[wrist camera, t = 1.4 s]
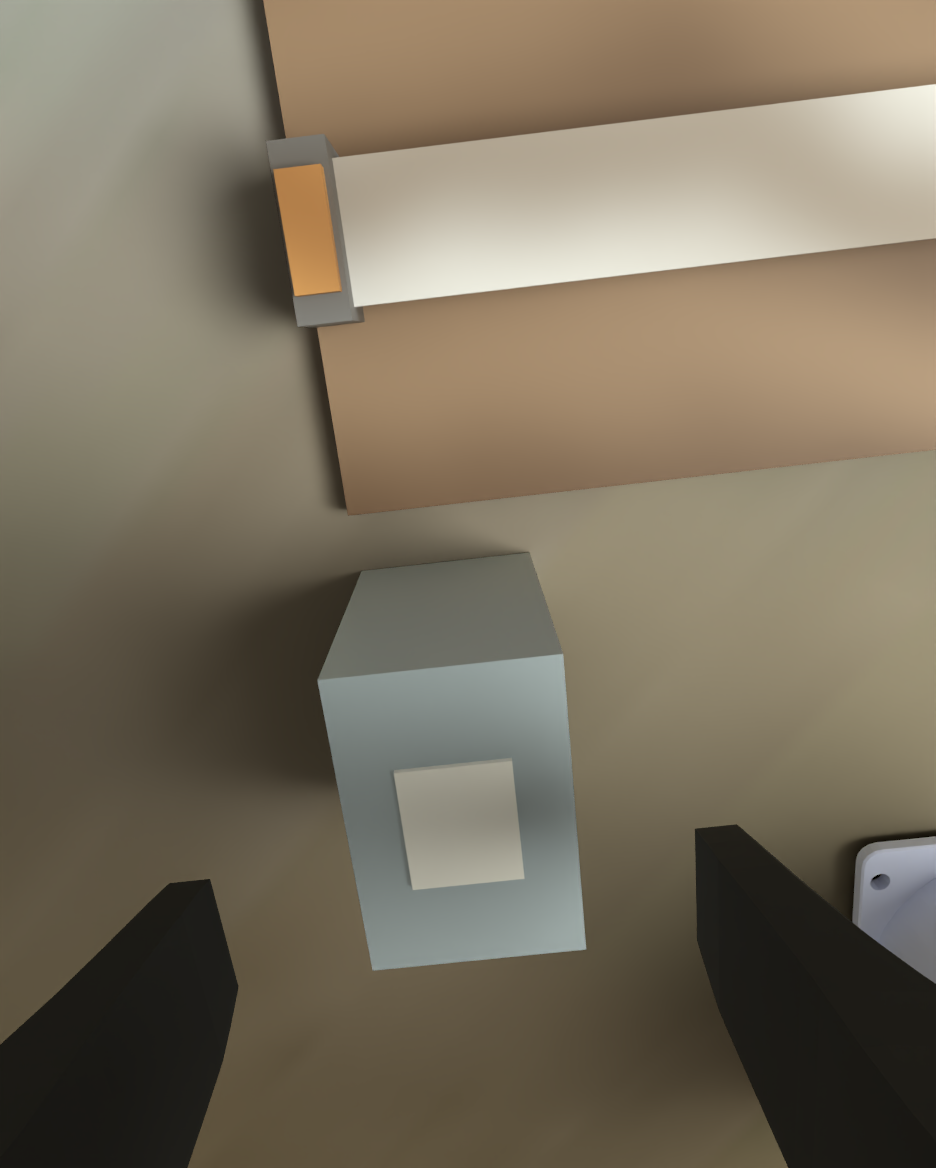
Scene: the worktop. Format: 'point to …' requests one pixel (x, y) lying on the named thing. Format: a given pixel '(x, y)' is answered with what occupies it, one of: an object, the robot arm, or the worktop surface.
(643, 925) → the worktop surface
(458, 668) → the block
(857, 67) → the rail mount
